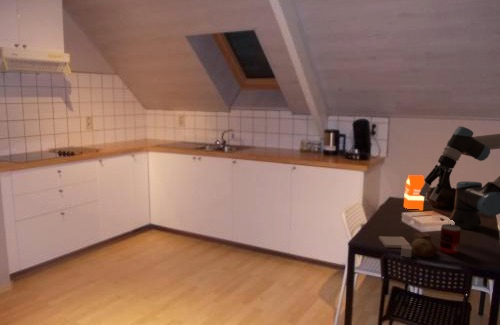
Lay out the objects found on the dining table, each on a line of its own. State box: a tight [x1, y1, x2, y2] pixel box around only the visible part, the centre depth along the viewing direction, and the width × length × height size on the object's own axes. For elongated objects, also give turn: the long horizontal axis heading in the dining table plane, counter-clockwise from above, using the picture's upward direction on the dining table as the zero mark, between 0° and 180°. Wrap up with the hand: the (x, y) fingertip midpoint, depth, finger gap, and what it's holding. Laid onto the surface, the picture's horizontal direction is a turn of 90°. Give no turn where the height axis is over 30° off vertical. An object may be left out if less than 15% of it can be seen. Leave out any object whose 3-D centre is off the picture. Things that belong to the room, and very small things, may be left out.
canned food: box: [438, 223, 462, 255], centre depth 186 cm, size 8×8×11 cm
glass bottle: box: [426, 177, 456, 210], centre depth 255 cm, size 18×18×28 cm
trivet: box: [378, 235, 411, 249], centre depth 195 cm, size 11×11×1 cm
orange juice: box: [403, 174, 425, 211], centre depth 252 cm, size 8×9×20 cm
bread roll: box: [410, 239, 437, 258], centre depth 184 cm, size 10×10×8 cm
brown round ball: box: [413, 231, 432, 242], centre depth 193 cm, size 5×5×5 cm
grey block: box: [400, 245, 412, 259], centre depth 180 cm, size 4×4×4 cm
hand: (426, 197), depth 203 cm, fingers open, 13 cm apart
